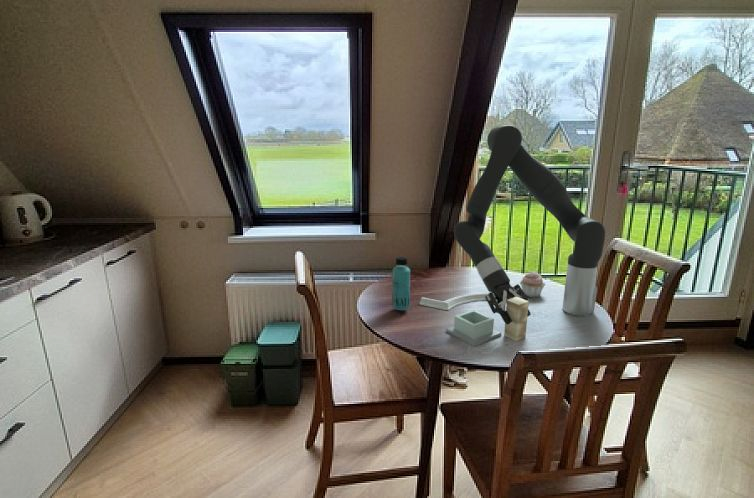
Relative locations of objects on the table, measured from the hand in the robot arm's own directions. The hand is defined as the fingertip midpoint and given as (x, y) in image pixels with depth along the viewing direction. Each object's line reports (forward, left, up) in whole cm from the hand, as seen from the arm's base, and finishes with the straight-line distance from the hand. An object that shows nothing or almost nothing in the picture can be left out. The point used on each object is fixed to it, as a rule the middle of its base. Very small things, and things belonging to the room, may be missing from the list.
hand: (519, 319), depth 126 cm
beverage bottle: (+31, -26, -6) cm, 41 cm away
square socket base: (+12, -5, -6) cm, 15 cm away
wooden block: (0, -1, -6) cm, 6 cm away
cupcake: (-22, -32, -6) cm, 39 cm away
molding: (+3, -33, -7) cm, 33 cm away
